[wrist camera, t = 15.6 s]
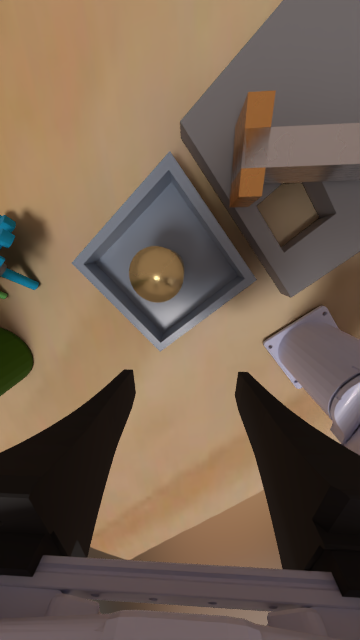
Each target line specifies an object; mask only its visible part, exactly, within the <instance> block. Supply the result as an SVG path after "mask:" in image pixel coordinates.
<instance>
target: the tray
mask: <svg viewBox="0 0 360 640" xmlns="http://www.w3.org/2000/svg"><path fill="white" fill-rule="evenodd" d="M150 246H160V247H164V248H167V249H170V250H173V251H175V252H176V253H178V254H179V255H180V257H181V258H182V260H183V263H184V279H183V284H182V287H181V289H180V290H179V292H178V293H177V294H176V295H175V296H174V297H173V298H172V299H170V300H168V301H165V302H159V303H157V302H150V301H148V300H145V299H144V298H142V297H141V296H139V295H138V294H137V293H136V291H135V290H134V289H133V287H132V285H131V282H130V278H129V267H130V263H131V261H132V259H133V257H134V256H135V255H136V254H137V253H138V252H139V251H140V250H142V249H144V248H146V247H150ZM72 264H73V265H74V266H75V267H76V268H77V269H78V270H79V271H80V272H81V273H82V274H83V275H84V276H85V277H86V278H87V279H88V280H89V281H90V282H91V283H92V284H93V285H94V286H95V287H96V288H97V289H98V290H99V291H100V292H101V293H102V294H103V295H104V296H105V297H106V298H107V299H108V300H109V301H110V302H111V303H112V304H113V305H114V306H115V307H116V308H117V309H118V310H119V311H120V312H121V313H122V314H123V315H124V316H125V317H126V318H127V319H128V320H129V321H130V322H131V323H132V324H133V325H134V326H135V327H136V328H137V329H138V330H139V331H140V332H141V333H142V334H143V335H144V336H145V337H146V338H147V339H148V340H149V341H150V342H151V343H152V344H153V345H154V346H155V347H156V348H157V349H158V350H159V351H162V350H163V349H164V348H166V347H167V346H168V345H170V344H171V343H172V342H174V341H175V340H176V339H178V338H179V337H180V336H182V335H183V334H185V333H186V332H187V331H189V330H190V329H191V328H193V327H194V326H195V325H197V324H198V323H199V322H201V321H202V320H203V319H205V318H206V317H207V316H209V315H210V314H211V313H213V312H214V311H216V310H217V309H218V308H220V307H221V306H222V305H224V304H225V303H226V302H228V301H229V300H230V299H232V298H233V297H234V296H236V295H237V294H238V293H240V292H241V291H243V290H244V289H245V288H247V287H248V286H249V285H251V284H252V283H253V282H255V281H256V280H257V279H256V278H255V276H254V275H253V274H252V272H251V271H250V269H249V268H248V266H247V265H246V263H245V262H244V260H243V259H242V257H241V256H240V254H239V253H238V251H237V250H236V248H235V247H234V245H233V244H232V242H231V241H230V239H229V238H228V237H227V235H226V234H225V232H224V231H223V229H222V228H221V226H220V225H219V223H218V222H217V220H216V219H215V217H214V216H213V214H212V213H211V211H210V210H209V208H208V207H207V205H206V204H205V202H204V201H203V200H202V198H201V197H200V195H199V194H198V192H197V191H196V189H195V188H194V186H193V185H192V183H191V182H190V180H189V179H188V177H187V176H186V174H185V173H184V171H183V170H182V168H181V167H180V166H179V164H178V163H177V161H176V160H175V158H174V157H173V155H172V154H171V152H169V153H168V154H167V155H166V156H165V157H164V158H163V160H162V161H161V162H160V163H159V164H158V165H157V166H156V167H155V169H154V170H153V171H152V172H151V173H150V174H149V175H148V177H147V178H146V179H145V180H144V181H143V182H142V183H141V185H140V186H139V187H138V188H137V189H136V190H135V191H134V193H133V194H132V195H131V196H130V197H129V198H128V199H127V201H126V202H125V203H124V204H123V205H122V206H121V207H120V208H119V210H118V211H117V212H116V213H115V214H114V215H113V216H112V218H111V219H110V220H109V221H108V222H107V223H106V224H105V226H104V227H103V228H102V229H101V230H100V231H99V232H98V234H97V235H96V236H95V237H94V238H93V239H92V240H91V241H90V243H89V244H88V245H87V246H86V247H85V248H84V249H83V251H82V252H81V253H80V254H79V255H78V256H77V257H76V259H75V260H74V261H73V262H72Z"/></svg>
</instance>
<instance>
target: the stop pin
mask: <svg viewBox="0 0 360 640" xmlns="http://www.w3.org/2000/svg"><path fill="white" fill-rule="evenodd" d="M129 278H130V282H131V285H132V287H133V289H134V290H135V291H136V293H137V294H138V295H139V296H141V297H142V298H144V299H145V300H148V301H150V302H157V303H159V302H165V301H168V300H170V299H172V298H173V297H174V296H175V295H176V294H177V293H178V292H179V290H180V289H181V287H182V284H183V279H184V263H183V260H182V258H181V257H180V255H179V254H178V253H176V252H175V251H173V250H170V249H167V248H164V247H160V246H150V247H146V248H144V249H142V250H140V251H139V252H138V253H137V254H136V255H135V256H134V257H133V259H132V261H131V263H130V267H129Z"/></svg>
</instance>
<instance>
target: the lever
mask: <svg viewBox="0 0 360 640" xmlns="http://www.w3.org/2000/svg"><path fill="white" fill-rule="evenodd" d="M275 93H276V90H275V91H257V92H248V94H247V97H246V99H245V102H244V105H243V107H242V110H241V112H240V115H239V118H238V120H237V123H236V126H235V138H234V151H233V164H232V178H231V191H230V204H229V207H249V206H250V205H251V204H252V203H254V202H255V201H256V200H258V199H259V198H260V197H261V196H262V191H263V184H266V183H294V182H323V181H352V180H360V123H344V124H323V125H302V126H282V127H271V123H272V116H273V108H274V100H275Z"/></svg>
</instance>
